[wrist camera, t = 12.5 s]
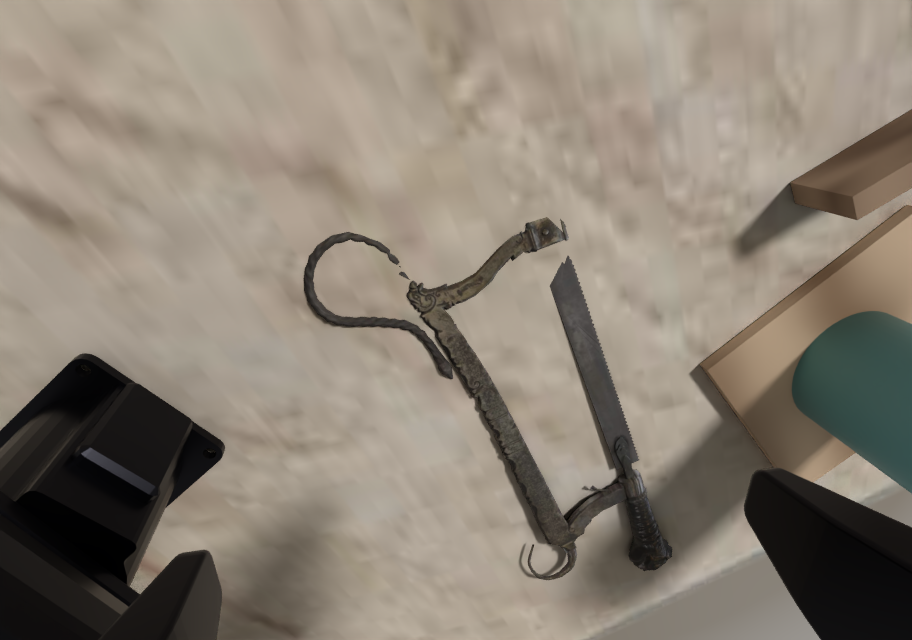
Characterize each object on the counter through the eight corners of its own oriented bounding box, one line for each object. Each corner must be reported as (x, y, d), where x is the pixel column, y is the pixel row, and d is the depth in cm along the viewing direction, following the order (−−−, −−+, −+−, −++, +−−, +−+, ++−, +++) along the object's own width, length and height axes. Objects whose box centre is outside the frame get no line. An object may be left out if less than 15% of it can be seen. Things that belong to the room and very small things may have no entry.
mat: (788, 486, 29) (796, 494, 28) (699, 364, 24) (707, 370, 24) (966, 360, 27) (978, 366, 27) (906, 205, 23) (919, 207, 22)
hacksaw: (667, 548, 30) (681, 570, 29) (502, 621, 30) (509, 646, 29) (536, 139, 19) (549, 143, 18) (283, 255, 19) (278, 267, 18)
